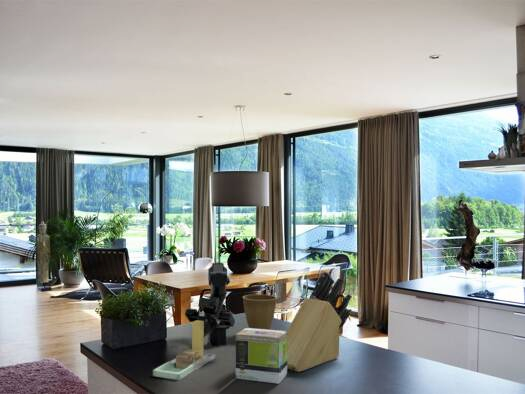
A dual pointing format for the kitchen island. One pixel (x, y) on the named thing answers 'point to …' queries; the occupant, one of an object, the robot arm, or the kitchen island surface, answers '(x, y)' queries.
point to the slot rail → (197, 361)
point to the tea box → (261, 355)
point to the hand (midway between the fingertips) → (201, 337)
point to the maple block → (193, 354)
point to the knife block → (317, 326)
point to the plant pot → (259, 310)
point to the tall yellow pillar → (198, 336)
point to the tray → (172, 371)
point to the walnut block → (183, 360)
